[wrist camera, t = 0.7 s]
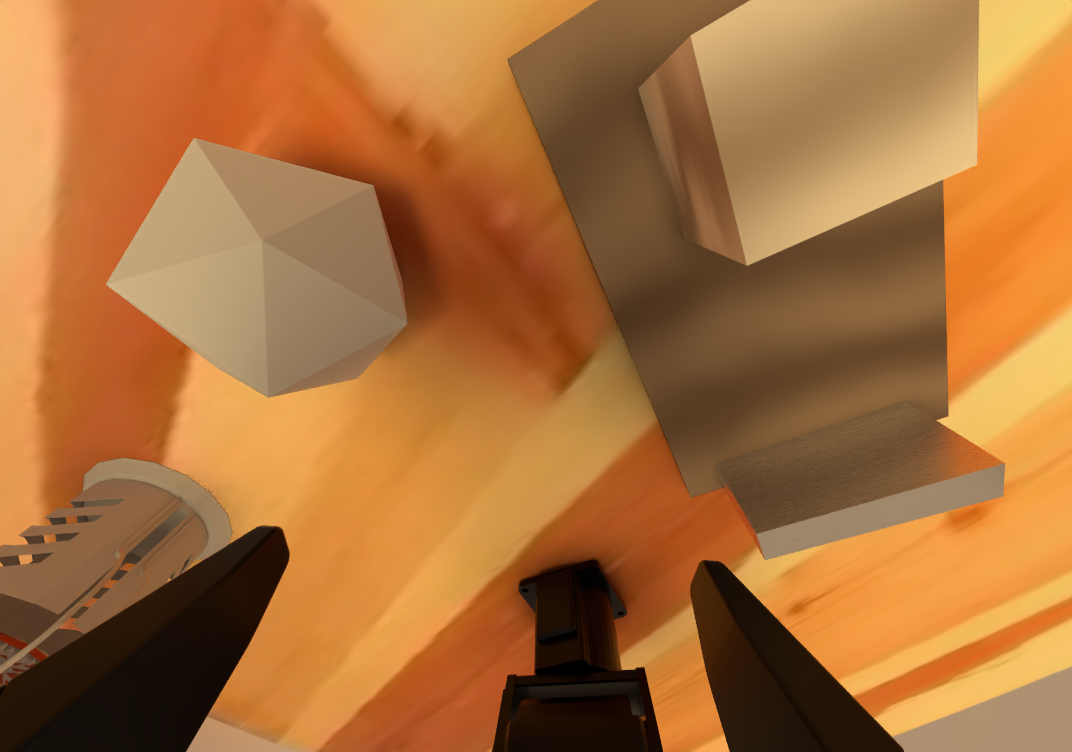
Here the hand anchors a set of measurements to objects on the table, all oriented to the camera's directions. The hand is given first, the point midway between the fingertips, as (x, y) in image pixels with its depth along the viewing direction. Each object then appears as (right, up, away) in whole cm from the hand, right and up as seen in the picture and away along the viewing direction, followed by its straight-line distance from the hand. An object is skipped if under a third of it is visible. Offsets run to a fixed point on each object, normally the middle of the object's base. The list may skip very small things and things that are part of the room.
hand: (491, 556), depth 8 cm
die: (-9, +10, +11) cm, 17 cm away
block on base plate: (+12, +9, +10) cm, 18 cm away
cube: (+9, +14, +7) cm, 18 cm away
